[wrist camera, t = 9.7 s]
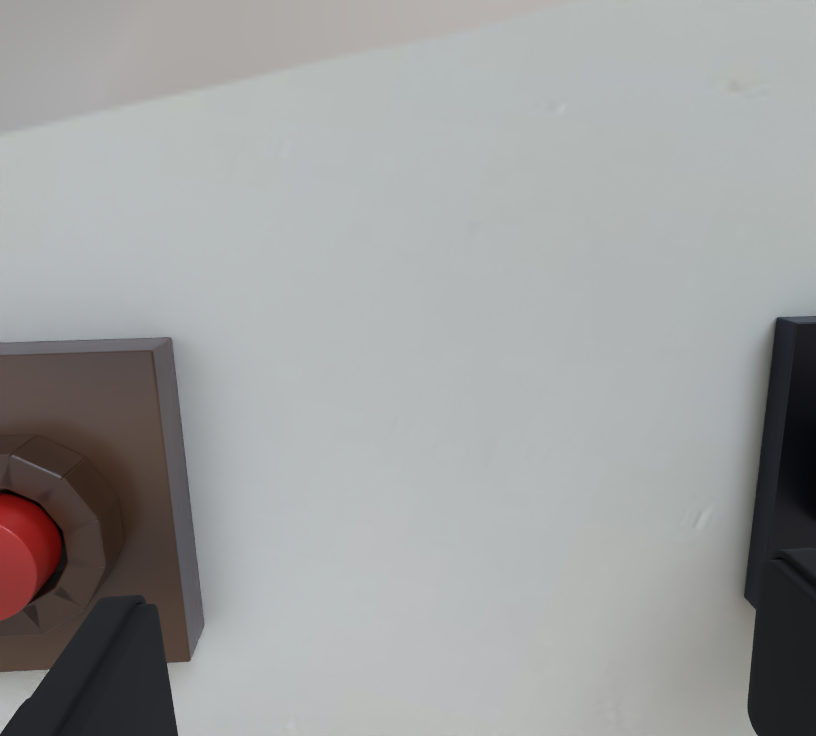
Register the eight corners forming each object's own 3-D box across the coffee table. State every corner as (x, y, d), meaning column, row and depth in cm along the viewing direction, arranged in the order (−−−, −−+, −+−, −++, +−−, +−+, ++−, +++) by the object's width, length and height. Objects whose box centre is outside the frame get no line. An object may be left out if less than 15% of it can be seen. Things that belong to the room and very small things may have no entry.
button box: (-114, 346, 23) (-211, 375, 20) (171, 336, 24) (133, 363, 20) (-49, 639, 26) (-121, 715, 22) (204, 625, 27) (176, 697, 23)
